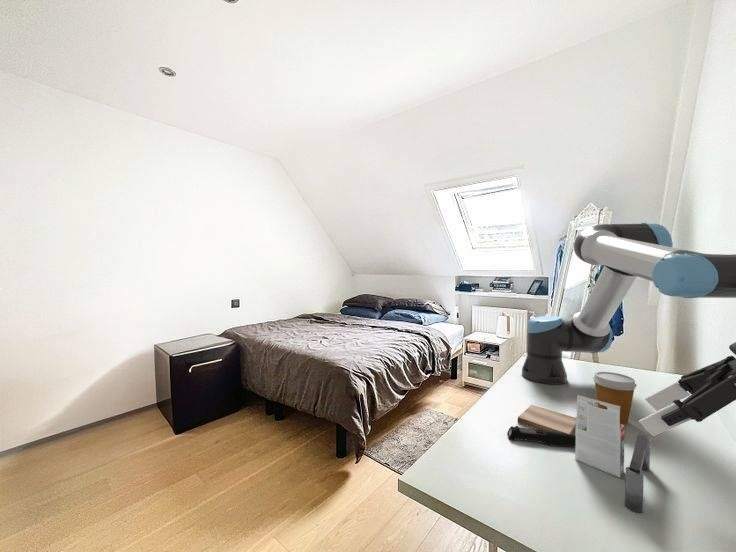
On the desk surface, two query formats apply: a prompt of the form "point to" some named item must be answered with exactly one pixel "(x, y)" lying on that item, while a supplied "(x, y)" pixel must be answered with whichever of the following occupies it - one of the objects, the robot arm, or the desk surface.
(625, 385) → the disposable coffee cup
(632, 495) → the dark grey cabinet handle
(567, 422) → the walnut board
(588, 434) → the ink box
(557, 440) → the electric trimmer
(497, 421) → the desk surface
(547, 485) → the desk surface
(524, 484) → the desk surface
